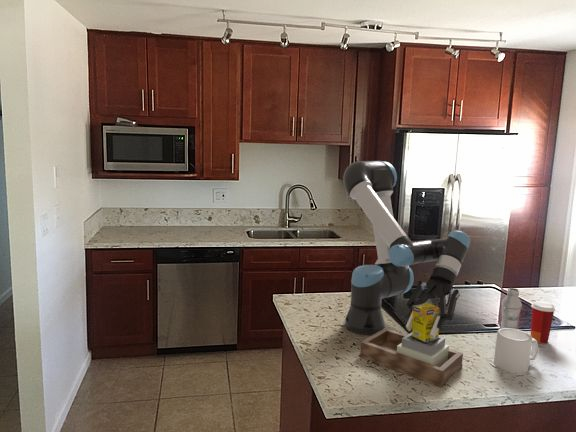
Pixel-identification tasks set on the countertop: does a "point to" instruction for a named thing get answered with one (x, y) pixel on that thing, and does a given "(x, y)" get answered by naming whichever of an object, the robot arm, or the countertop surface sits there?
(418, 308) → the supplement box
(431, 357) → the stepped square pedestal
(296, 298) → the countertop surface
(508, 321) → the plastic bottle
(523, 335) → the mug
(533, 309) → the paper cup
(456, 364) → the tray
